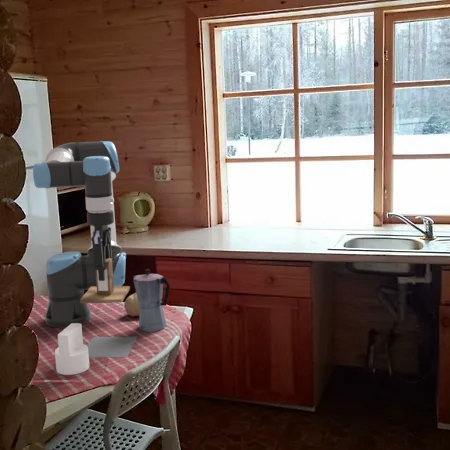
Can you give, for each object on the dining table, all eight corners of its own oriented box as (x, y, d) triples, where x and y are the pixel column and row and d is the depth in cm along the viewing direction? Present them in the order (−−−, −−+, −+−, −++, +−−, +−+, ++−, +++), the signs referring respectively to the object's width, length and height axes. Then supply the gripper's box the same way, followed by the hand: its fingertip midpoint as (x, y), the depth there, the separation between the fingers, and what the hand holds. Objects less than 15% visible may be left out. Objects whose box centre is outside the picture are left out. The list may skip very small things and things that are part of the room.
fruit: (127, 311, 209) (126, 290, 208) (150, 311, 209) (148, 289, 207) (123, 319, 201) (121, 297, 200) (146, 319, 201) (145, 297, 199)
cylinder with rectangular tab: (81, 377, 159) (77, 336, 157) (50, 375, 161) (46, 334, 159) (94, 363, 168) (91, 324, 166) (65, 361, 170) (62, 322, 167)
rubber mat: (93, 338, 186) (93, 337, 185) (137, 338, 185) (137, 336, 185) (79, 359, 171) (79, 357, 171) (127, 359, 170) (127, 357, 170)
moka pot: (144, 319, 201) (141, 263, 197) (181, 327, 193) (179, 268, 189) (126, 329, 193) (122, 270, 189) (164, 337, 185) (161, 276, 181)
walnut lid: (91, 289, 181) (88, 255, 179) (129, 289, 180) (127, 254, 178) (80, 303, 169) (77, 266, 167) (121, 302, 169) (119, 265, 166)
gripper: (105, 216, 161) (111, 297, 166) (119, 204, 177) (123, 279, 182) (78, 216, 161) (84, 297, 166) (94, 205, 178) (100, 279, 183)
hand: (105, 287), depth 174 cm, fingers closed on walnut lid, 4 cm apart
